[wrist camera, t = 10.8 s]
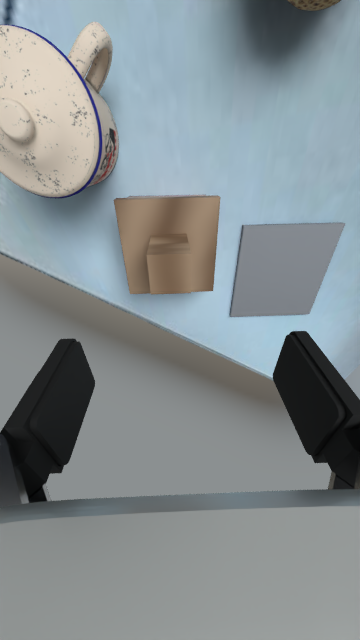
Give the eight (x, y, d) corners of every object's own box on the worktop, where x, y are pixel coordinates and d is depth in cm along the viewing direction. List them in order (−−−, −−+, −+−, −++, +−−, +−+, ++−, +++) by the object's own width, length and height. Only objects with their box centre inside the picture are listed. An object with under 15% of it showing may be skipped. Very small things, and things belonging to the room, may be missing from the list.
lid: (217, 195, 22) (235, 208, 16) (211, 286, 28) (222, 320, 22) (116, 198, 22) (96, 212, 16) (131, 289, 27) (121, 324, 22)
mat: (342, 222, 29) (345, 223, 28) (307, 312, 37) (309, 314, 36) (242, 225, 28) (244, 226, 28) (229, 314, 37) (230, 316, 36)
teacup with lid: (91, 206, 26) (48, 232, 17) (12, 136, 22) (-101, 120, 13) (158, 108, 22) (149, 68, 12) (72, -2, 18) (-39, -186, 8)
